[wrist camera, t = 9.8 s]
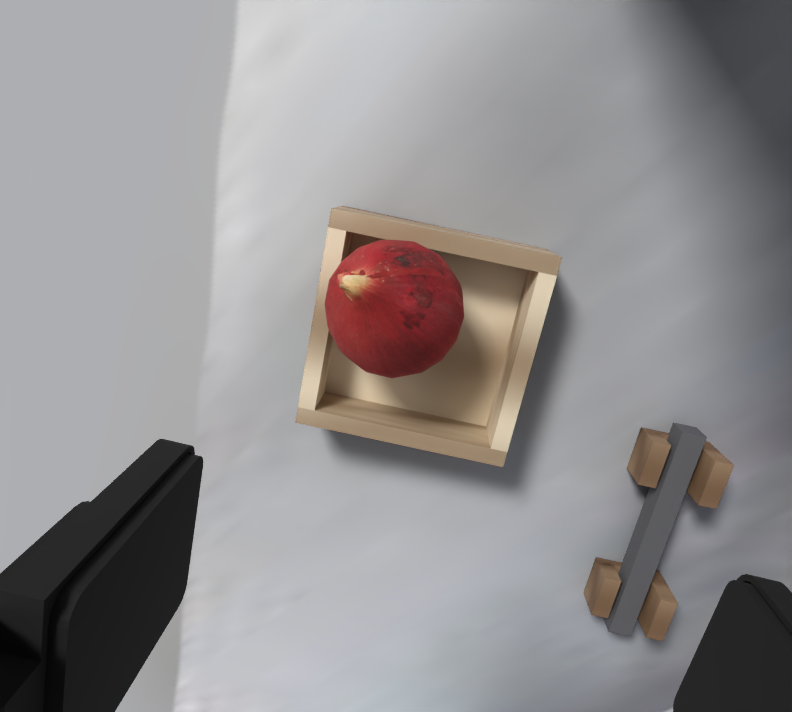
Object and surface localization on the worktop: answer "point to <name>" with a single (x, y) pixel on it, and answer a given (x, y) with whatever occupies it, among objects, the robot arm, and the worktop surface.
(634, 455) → the clip
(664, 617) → the clip
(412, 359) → the onion
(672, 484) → the gray square bar
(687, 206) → the worktop surface
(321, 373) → the wooden tray
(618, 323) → the worktop surface
